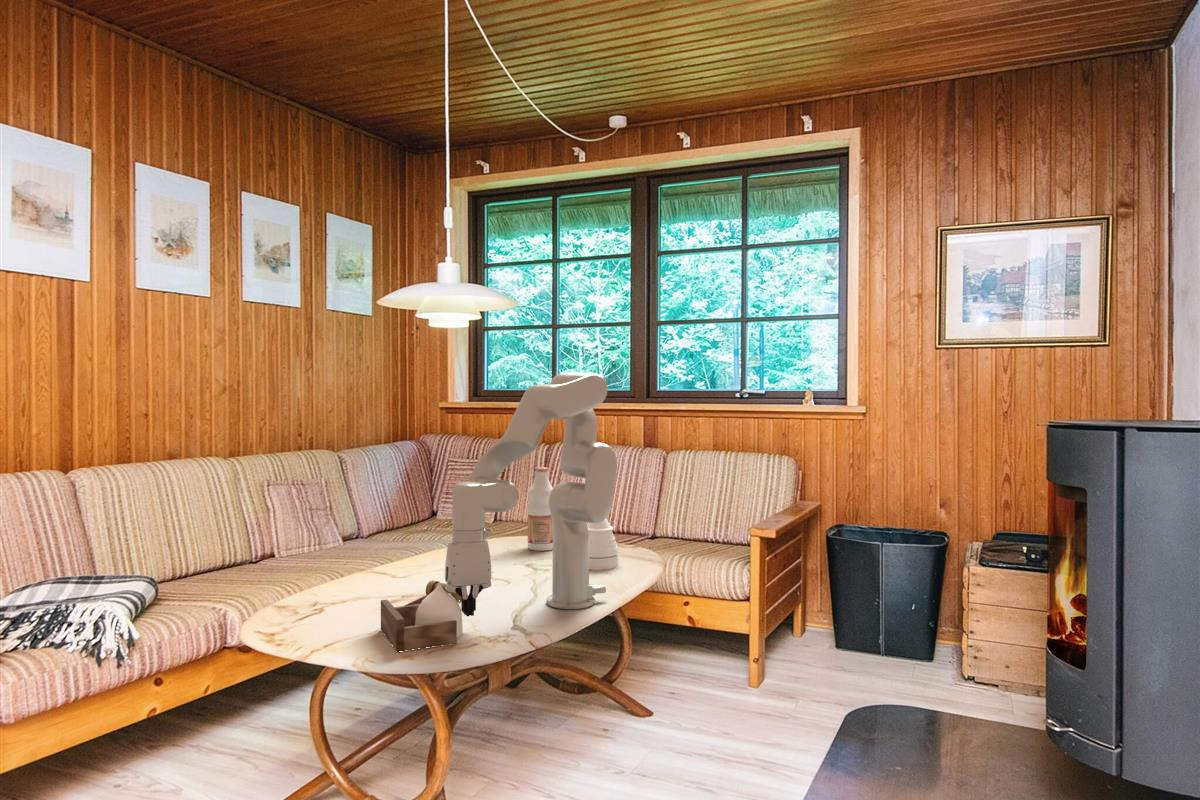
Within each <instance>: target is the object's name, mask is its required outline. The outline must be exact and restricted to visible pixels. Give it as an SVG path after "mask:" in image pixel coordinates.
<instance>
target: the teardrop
mask: <svg viewBox="0 0 1200 800" xmlns="http://www.w3.org/2000/svg"><path fill="white" fill-rule="evenodd" d="M439 582H440V581H439ZM439 582H438V585H437V587H436V589H435V590H434V591H433V592H432V593H430V594H429V595H428V596H427V597H426V598H425V599H423V600H422V602H421V604H420V605H419V607H418V609H417V612H416V619H415V626H416V625H424V624H431V623H439V622H446V621H454V620H456V621H457V637H458V638H460V637H461V636H462V635H463V634H464V632H463V631H464V630H463V618H462V615H463V612H462V610H461V605H460V604H459V602H457V601H456V600H455V598H454V597H453V596H452V595H451V594H449V593H448V592H446V591H445V590H444V589H443V588H442V587H441V585H440V583H441V582H440V583H439ZM462 633H463V634H462ZM461 634H462V635H461ZM460 635H461V636H460ZM459 636H460V637H459Z"/></svg>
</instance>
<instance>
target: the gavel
mask: <svg viewBox="0 0 1200 800" xmlns="http://www.w3.org/2000/svg"><path fill="white" fill-rule="evenodd" d="M438 582H439V583H440V585H441V587H442V588H443V589H444V590H445V591H446V589H445V588H446V583H444V582H441V581H438V580H429V581H428V583H427V585H426V586H425V595H424V596H422V597H419V598H417V599H416V600H415V599H414V600H413V601H411V602H409V603H406V604H405V605H403V606H407V605H416V604H421V602H422V600H423V599H425V598H426V597H427V596H428V595H429V594H430V593H432V592H433V591H434V590H435V589H436V587H437V585H438ZM446 592H448V591H446ZM448 593H449V594H451V595H452V596H453V597H454V598H455V600H456V601H459V600H461V596H460V595H458V594H457V593H455V592H448Z"/></svg>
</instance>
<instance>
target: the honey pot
mask: <svg viewBox="0 0 1200 800" xmlns="http://www.w3.org/2000/svg"><path fill="white" fill-rule="evenodd" d="M586 524H587V527H588V531H589V570H609V569H610V570H611V569H615V568H617V567H618V566H619V546H618V545H617V542H616V537H615V536H614V533H613V530H614V527H613V526H612V525H611V524H610V523H609V521H608V519H607V518H606V519H605V520H603V521H602V522H599V523H589V522H586Z"/></svg>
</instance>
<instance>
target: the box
mask: <svg viewBox="0 0 1200 800" xmlns="http://www.w3.org/2000/svg"><path fill="white" fill-rule="evenodd" d="M406 605H407V604H406ZM419 605H420V604H416V605H407V606H404V605H400V606H394V605H393V604H392V603H391V602H390V601H389V600H388V599H381V600H380V631H381V630H382V631H383V633H384V634H385V635H384V634H383V633H382V634H383V635H384V637H385V636H386V637H387V638H386V637H385V638H386V640H387V639H388V640H389V641H390V642H389V641H388V640H387V641H388V642H389V644H390V643H391V644H392V645H393V647H394V648H395V649H394V648H393V647H392V648H393V649H394V651H395V650H396V651H397V652H399V651H405V650H412V649H418V648H426V647H432V646H440V647H442V646H441V645H447V646H450V645H449V644H454V645H458V644H457V641H458V640H457V639H458V638H457V621H456V620H454V621H446V622H439V623H431V624H424V625H416V626H415V619H416V612H417V609H418V607H419ZM382 631H381V632H382ZM391 644H390V645H391ZM392 645H391V646H392ZM396 651H395V652H396ZM397 652H396V653H397ZM399 653H400V652H399Z"/></svg>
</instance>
